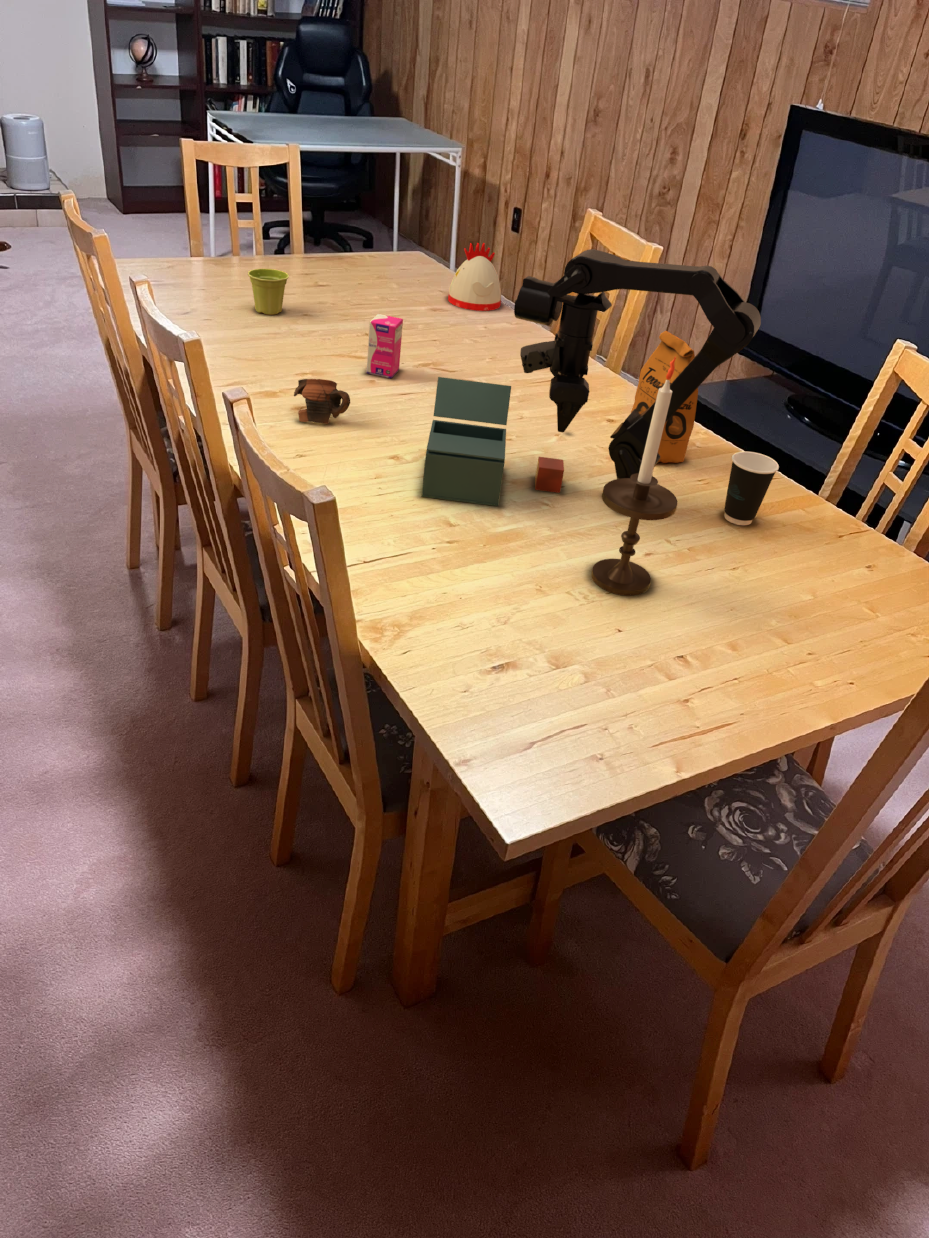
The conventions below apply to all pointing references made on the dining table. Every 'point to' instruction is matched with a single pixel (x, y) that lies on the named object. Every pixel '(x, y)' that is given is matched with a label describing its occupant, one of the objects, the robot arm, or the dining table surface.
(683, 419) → the coffee package
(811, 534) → the dining table surface
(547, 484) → the block
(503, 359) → the dining table surface
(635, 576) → the candlestick
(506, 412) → the flap
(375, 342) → the supplement box
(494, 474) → the carton
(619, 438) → the robot arm
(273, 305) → the plant pot
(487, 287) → the kitchen timer
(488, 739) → the dining table surface
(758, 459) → the dixie cup
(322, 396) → the pottery mug
